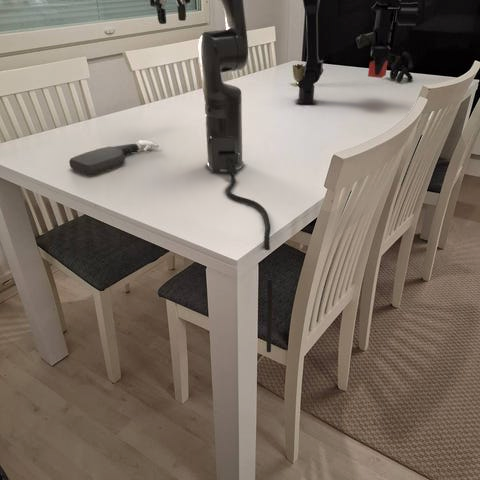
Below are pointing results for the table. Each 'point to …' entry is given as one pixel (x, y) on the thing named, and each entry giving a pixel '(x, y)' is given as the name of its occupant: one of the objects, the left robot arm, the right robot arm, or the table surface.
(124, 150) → the spray bottle
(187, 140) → the table surface
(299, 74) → the cup
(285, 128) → the table surface
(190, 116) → the table surface
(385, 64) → the block
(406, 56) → the squiggle
